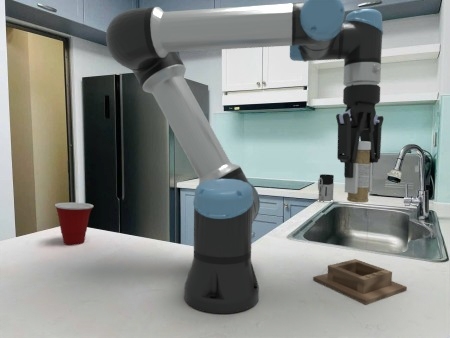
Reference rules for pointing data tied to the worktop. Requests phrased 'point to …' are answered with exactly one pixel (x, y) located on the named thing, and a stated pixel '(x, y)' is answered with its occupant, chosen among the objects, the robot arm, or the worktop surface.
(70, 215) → the plastic cup
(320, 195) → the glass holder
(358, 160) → the sprinkles bottle
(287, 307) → the worktop surface
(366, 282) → the walnut socket block
